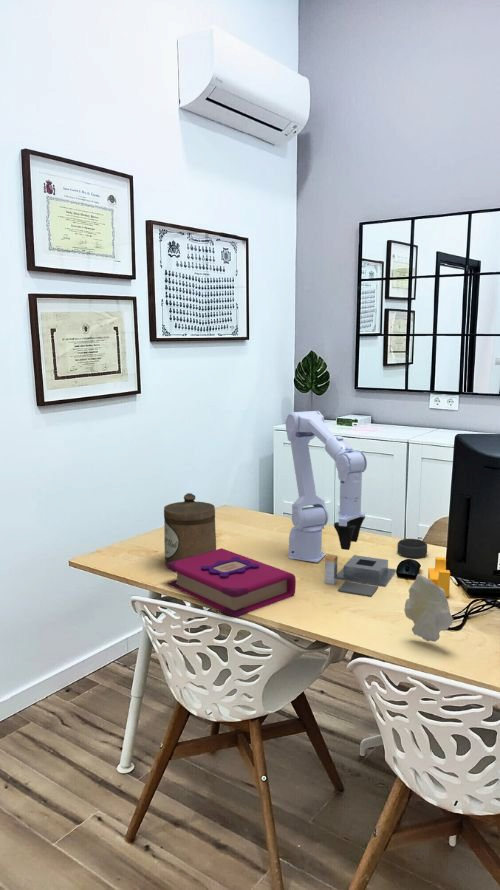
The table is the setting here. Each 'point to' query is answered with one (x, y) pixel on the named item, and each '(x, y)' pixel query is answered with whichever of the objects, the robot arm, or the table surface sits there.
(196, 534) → the wooden container
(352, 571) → the block
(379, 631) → the table surface
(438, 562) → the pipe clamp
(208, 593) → the book
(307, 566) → the table surface
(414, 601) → the stone tool
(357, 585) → the mat
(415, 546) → the smart speaker
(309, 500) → the robot arm
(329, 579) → the orange and grey block
